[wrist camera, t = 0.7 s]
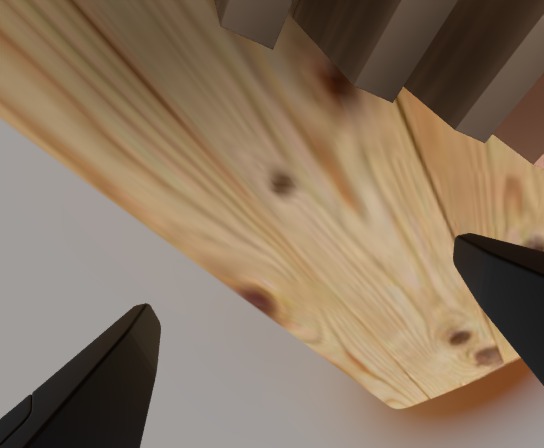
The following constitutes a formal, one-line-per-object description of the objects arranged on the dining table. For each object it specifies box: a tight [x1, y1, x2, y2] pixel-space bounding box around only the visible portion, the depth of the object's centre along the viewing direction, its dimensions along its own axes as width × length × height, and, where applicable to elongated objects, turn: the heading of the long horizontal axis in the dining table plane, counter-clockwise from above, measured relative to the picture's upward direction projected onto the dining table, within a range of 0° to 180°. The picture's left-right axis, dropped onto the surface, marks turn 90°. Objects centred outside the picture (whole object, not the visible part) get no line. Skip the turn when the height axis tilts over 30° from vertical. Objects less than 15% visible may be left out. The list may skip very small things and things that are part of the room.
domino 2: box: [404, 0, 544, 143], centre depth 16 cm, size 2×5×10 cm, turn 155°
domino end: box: [493, 73, 544, 169], centre depth 18 cm, size 2×5×10 cm, turn 155°
